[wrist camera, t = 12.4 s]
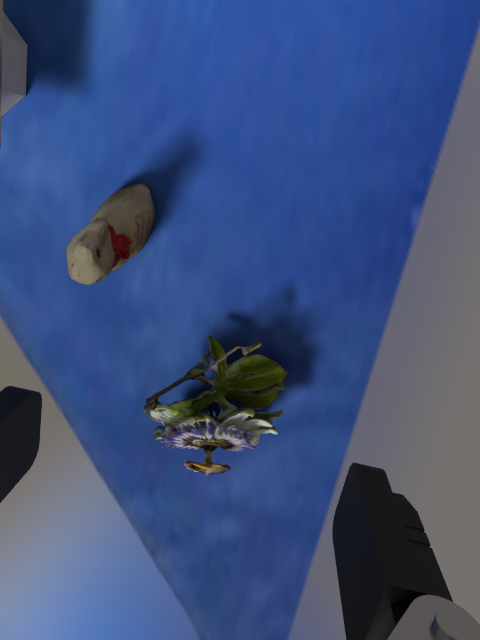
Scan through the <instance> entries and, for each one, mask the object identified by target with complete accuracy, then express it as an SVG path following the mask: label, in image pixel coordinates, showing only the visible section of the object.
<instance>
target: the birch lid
mask: <svg viewBox="0 0 480 640" xmlns="http://www.w3.org/2000/svg"><path fill="white" fill-rule="evenodd" d="M2 35H3V0H0V148H1V91H2Z"/></svg>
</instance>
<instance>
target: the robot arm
mask: <svg viewBox="0 0 480 640" xmlns="http://www.w3.org/2000/svg"><path fill="white" fill-rule="evenodd" d="M41 408H42V397H41V394H40V393H39V392H36V391H31V390H27V389H22V388H17V387H13V386H8V387H6V388H4V389H3V390H2V391H1V392H0V503H1V502H2V500H3V499H4V498H5V497H6V496H7V495H8V493H9V492H10V491H11V490H12V489H13V488H14V487H15V485H16V484H17V483H18V482H19V481H20V479H21V478H22V477H23V476H24V475H25V474H26V473H27V471H28V470H29V469H30V468H31V466H32V464H33V462H34V460H35V458H36V456H37V452H38V449H39V441H40V424H41ZM333 545H334V552H335V559H336V566H337V573H338V581H339V588H340V596H341V604H342V611H343V618H344V625H345V633H346V640H480V625H479V623H478V622H477V621H476V620H475V619H474V618H473V617H472V616H471V615H470V614H469V613H468V612H466V611H465V610H464V609H463V608H461V607H460V606H458V605H456V604H455V603H453V600H452V598H451V595H450V593H449V591H448V588H447V585H446V583H445V580H444V578H443V575H442V573H441V570H440V568H439V565H438V563H437V560H436V558H435V555H434V552H433V550H432V548H430V543H429V540H428V537H427V535H426V533H424V527H423V525H422V523H421V520H420V517H419V515H418V512H417V511H416V510H415V509H414V508H413V506H412V505H411V504H410V503H409V501H408V500H407V499H406V498H405V497H404V496H403V495H401V494H397V493H392V490H391V487H390V484H389V481H388V478H387V476H386V473H385V471H384V470H383V469H380V468H376V467H371V466H367V465H362V464H358V463H353V464H352V465H351V466H350V468H349V471H348V475H347V477H346V480H345V483H344V486H343V490H342V493H341V496H340V499H339V502H338V505H337V508H336V512H335V516H334V521H333Z"/></svg>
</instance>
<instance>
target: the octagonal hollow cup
mask: <svg viewBox="0 0 480 640" xmlns="http://www.w3.org/2000/svg"><path fill="white" fill-rule="evenodd" d="M27 47H28V44H26V43H25V41H24V40H23V38H22V37H21V36H20V34H19V33H18V31H17V30H16V28H15V27H14V26H13V24H12V23H11V21H10V20H9V19H8V17H7V16H6V14H5V13H4V11H3V35H2V91H1V117H2V116H4V115H5V114H6V113H7V112H8V111H9V110H10V109H11V108H13V107H14V106H15V105H16V104H17V103H18V102H19V101H20V100H22V99H23V98H24V97H26V74H27Z"/></svg>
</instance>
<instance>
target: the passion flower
mask: <svg viewBox="0 0 480 640" xmlns="http://www.w3.org/2000/svg"><path fill="white" fill-rule="evenodd" d="M208 340H209V345H210V349H209V351H208V352H206V354H205V355H204V356H203V357H202V358H201V360H200V361H199V362H198V363H197V365H196V366H194V367H193V368H192V369H190V370H189V371H188V373H187V374H186V375H185V376H184V377H183V378H181V379H179V380H178V381H176V382H175V383H173V384H172V385H170V386H169V387H167V388H165V389H164V390H162V391H160V392H158V393H155V394H154V395H153V396H152V397H150V398H148V399H147V402H146V403H147V404H146V405H145V407H144V409H145V410H144V412H143V414H144V413H145V412H147V411H148V414H149V416H150V418H151V419H153V420H154V421H155V422H162V423H163V425H164V427H163V426H158V427H156V428H155V429H154V432H153V435H154V437H155V439H156V440H158V439H163V440H162V441H161V443H162V442H165V444H164V445H163V447H165V446H166V447H169V448H174V447H178V448H189V449H191V450H192V451H197V450H199V449H200V448H203V449H204V451H205V459H204V461H203V462H201V463H197V462H192V461H185V462H184V465H185V466H186V467H187V469H191V470H194V471H195V472H202V473H205V474H206V475H209V474H214V473H217V474H219V473H224V472H225V471H229V470H230V467H229V466H228V465H224V464H217V463H212V461H211V452H212V451H214V450H215V449H216V448H217V447H220V448H223V449H225V450H231V451H235V452H240V451H242V452H243V451H244V448H247V447H248V448H252V449H254V448H256V446H257V445H258V443H259V442H260V441H259V440H258V439H261V437H260V436H259V434H264V433H273V434H278V431H277V430H276V429H275V428H274V426H272V423H273V422H271V421H270V420H271V419H273V418H278V417H279V416H281V415H282V413H283V410H280V411H277V412H266V413H263V412H257V413H255V412H254V411H253V410H252V409H254V410H260V409H262V408H263V407H266V406H267V405H269V404H271V402H273V401H274V399H275V398H276V396H277V394H278V391H279V390H283V389H285V385H284V382H283V379H284V378H285V377H286V376H287V375H288V372H287V371H286V370H284V369H283V368H282V367H281V365H280V364H278V363H276V362H274V361H272V360H271V359H269V358H267V357H265V356H263V355H260V354H253V355H248V356H246V355H247V354H248V353H250V352H252V351H253V350H256V349H257V348H258V347H260V346H261V343H260V342H256V343H255V344H254V345H252V346H249V347H240V346H236V347H235V348H233V349H232V350H230V351H228V352H227V353H226V354H225V352H224V349H223V348H222V346H221V345H220V343H219V342H218V341H217V340H216V339H214V338H213V337H211V336H209V337H208ZM238 348H242V353H243V355H244V357H242V358H240V359H238V360H237V361H235V362H233V363H231V364H229V365H226V361H227V355H229V354H231V353H233V352H234V351H235V350H236V349H238ZM210 352H211V362H209V361H208V360H207V358H208V356H209V354H210ZM211 369H212V370H213V371H214V373H215V376H214V378H213V379H209V378H207V377H205V375H204V374H203V373H205V372H206V371H208V370H211ZM189 379H196V380H201V381H202V382H203V384H204V388H205V390H206V391H205V392H203V393H202V394H200V395H199V396H197V397H194V398H191V399H186V400H182V401H175V402H174V403H173V404H171V405H163V404H161V403H160V402H158V397H159V396H161V395H162V394H164V393H166V392H168V391H170V390H171V389H172V388H174V387H176V386H178V385H179V384H181V383H183V382H184V381H186V380H189ZM207 383H210V384H211V386H212V388H211V389H210V390H207V385H206V384H207ZM274 383H277V384H274ZM225 396H227V397H228V398H230V399H235V400H237V401H238V402H239V403H240V404H242V405H244V406H246V407H245V408H237V407H235V406H234V405H233V404H230V403H229V402H228V401H227V400H226V398H225ZM211 402H216V403H217V404H218V405H219V406H220V409H221V411H220V414H219V416H217V417H215V416H213V412H212V406H211ZM208 405H209V410H210V415H209V414H206V413H204V412H202V413H199V412H200V411H201V410H203V409H204V408H206V407H207V406H208ZM151 408H152V409H151ZM197 413H198V414H197Z"/></svg>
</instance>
